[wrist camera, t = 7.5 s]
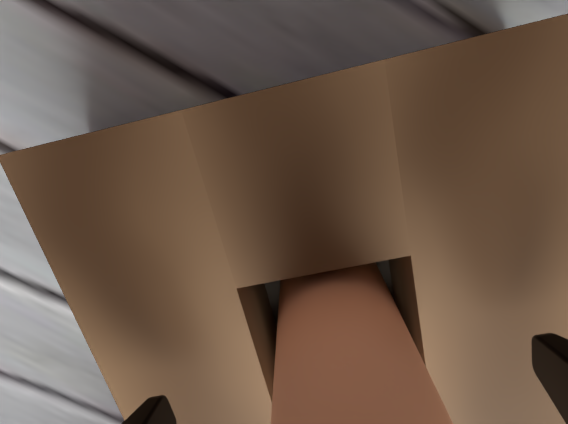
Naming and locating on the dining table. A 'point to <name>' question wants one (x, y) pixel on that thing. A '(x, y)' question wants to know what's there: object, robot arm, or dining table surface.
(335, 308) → the peg
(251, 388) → the bore block
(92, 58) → the dining table surface
